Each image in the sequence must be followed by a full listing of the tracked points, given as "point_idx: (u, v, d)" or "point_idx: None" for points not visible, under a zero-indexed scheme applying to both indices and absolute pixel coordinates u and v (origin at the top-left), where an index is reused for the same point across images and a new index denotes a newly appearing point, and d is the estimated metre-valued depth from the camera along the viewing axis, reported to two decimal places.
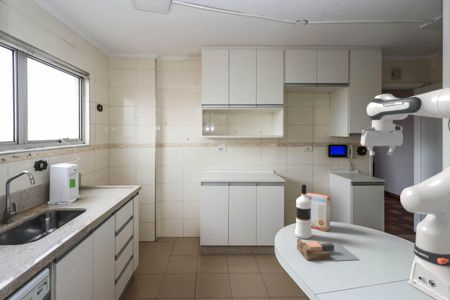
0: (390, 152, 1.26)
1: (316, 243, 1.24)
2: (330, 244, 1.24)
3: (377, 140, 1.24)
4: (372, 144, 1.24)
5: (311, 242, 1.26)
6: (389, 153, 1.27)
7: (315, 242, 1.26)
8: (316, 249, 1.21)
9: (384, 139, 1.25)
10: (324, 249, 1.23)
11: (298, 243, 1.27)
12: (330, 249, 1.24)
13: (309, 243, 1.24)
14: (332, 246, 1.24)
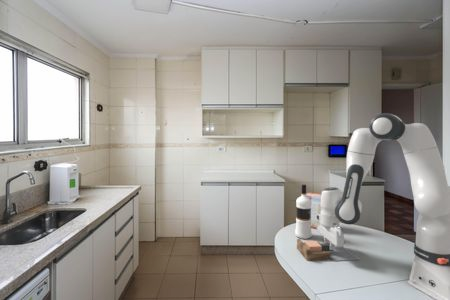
0: None
1: (316, 243, 1.24)
2: None
3: None
4: None
5: (311, 242, 1.26)
6: None
7: (315, 242, 1.25)
8: (316, 249, 1.21)
9: None
10: (324, 249, 1.23)
11: (298, 243, 1.27)
12: None
13: (309, 243, 1.24)
14: None
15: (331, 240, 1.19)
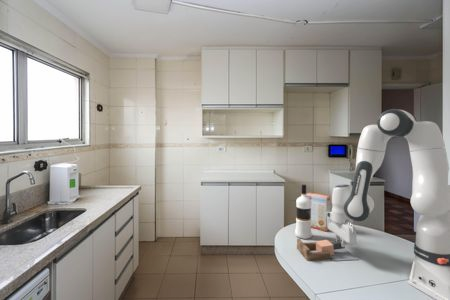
0: None
1: (327, 242, 1.24)
2: (341, 241, 1.24)
3: None
4: None
5: (322, 241, 1.26)
6: None
7: (326, 241, 1.26)
8: (327, 248, 1.21)
9: None
10: (335, 247, 1.23)
11: (298, 243, 1.27)
12: (341, 246, 1.24)
13: (320, 242, 1.24)
14: None
15: (343, 237, 1.19)
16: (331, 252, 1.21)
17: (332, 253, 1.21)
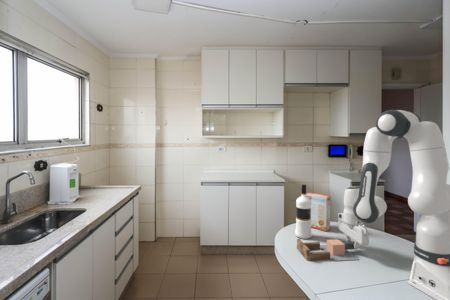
0: None
1: (338, 241, 1.25)
2: (352, 242, 1.25)
3: None
4: None
5: (333, 240, 1.27)
6: None
7: (337, 240, 1.27)
8: (339, 247, 1.22)
9: None
10: (346, 247, 1.24)
11: (298, 243, 1.27)
12: (352, 247, 1.25)
13: (331, 241, 1.25)
14: None
15: (355, 238, 1.20)
16: (342, 251, 1.22)
17: (343, 252, 1.22)
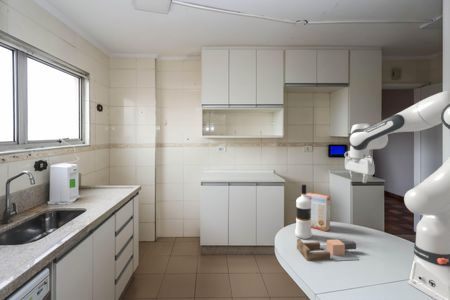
0: None
1: (338, 241, 1.25)
2: (352, 242, 1.25)
3: None
4: None
5: (333, 240, 1.27)
6: (354, 177, 1.36)
7: (337, 240, 1.27)
8: (339, 247, 1.22)
9: None
10: (346, 247, 1.24)
11: (298, 243, 1.27)
12: (352, 247, 1.25)
13: (331, 241, 1.25)
14: (354, 244, 1.25)
15: (361, 170, 1.26)
16: (342, 251, 1.22)
17: (343, 252, 1.22)
